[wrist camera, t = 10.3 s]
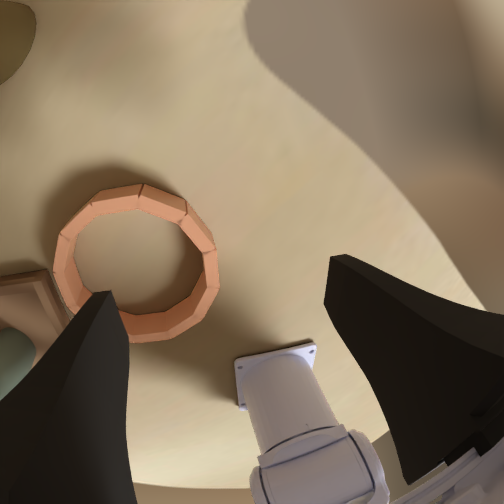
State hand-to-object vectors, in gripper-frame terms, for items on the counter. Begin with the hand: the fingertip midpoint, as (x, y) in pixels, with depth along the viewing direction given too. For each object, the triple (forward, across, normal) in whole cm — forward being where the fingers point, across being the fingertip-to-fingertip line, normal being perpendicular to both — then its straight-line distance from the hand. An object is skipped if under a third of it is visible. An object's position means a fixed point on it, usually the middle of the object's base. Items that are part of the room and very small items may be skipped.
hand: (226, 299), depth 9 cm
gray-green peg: (+9, +18, +10) cm, 23 cm away
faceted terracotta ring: (+10, +5, +4) cm, 12 cm away
